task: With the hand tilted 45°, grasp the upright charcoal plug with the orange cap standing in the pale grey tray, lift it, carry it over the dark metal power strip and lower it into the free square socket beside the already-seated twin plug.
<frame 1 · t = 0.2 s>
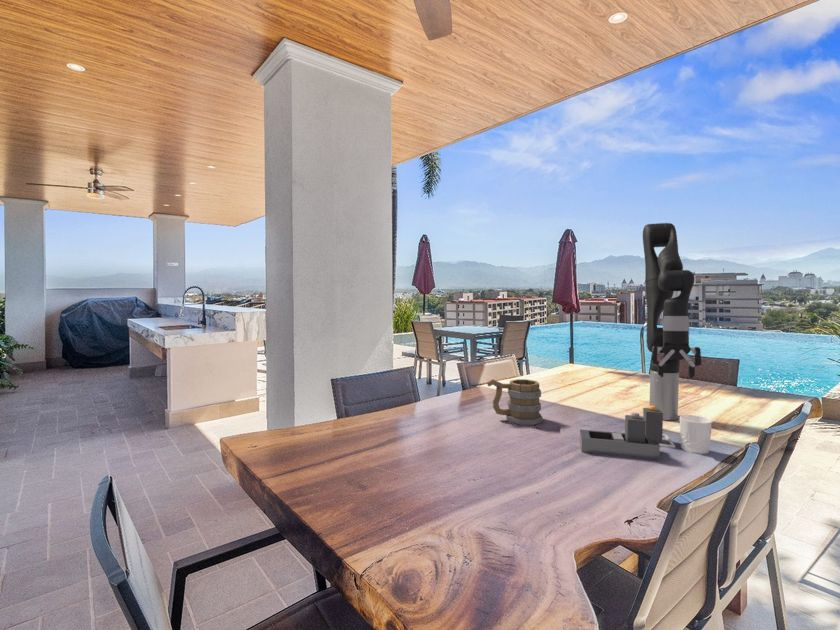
hand: (675, 377, 143), 18 cm above the table, tool pointing down, fingers open, 8 cm apart
plug: (652, 442, 131), resting on tray
tankard: (513, 419, 156), on the table
tray: (652, 443, 131), on the table
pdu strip: (617, 453, 123), on the table
white cup: (694, 453, 123), on the table
twin plug: (634, 452, 121), resting on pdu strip
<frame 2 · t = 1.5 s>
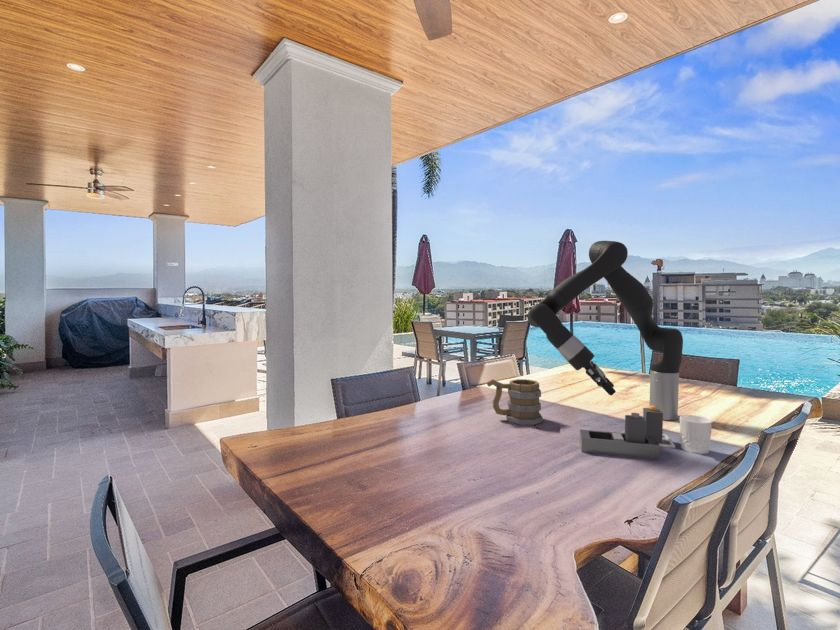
hand: (612, 390, 134), 16 cm above the table, tool tilted 45°, fingers open, 8 cm apart
nothing on the table moved.
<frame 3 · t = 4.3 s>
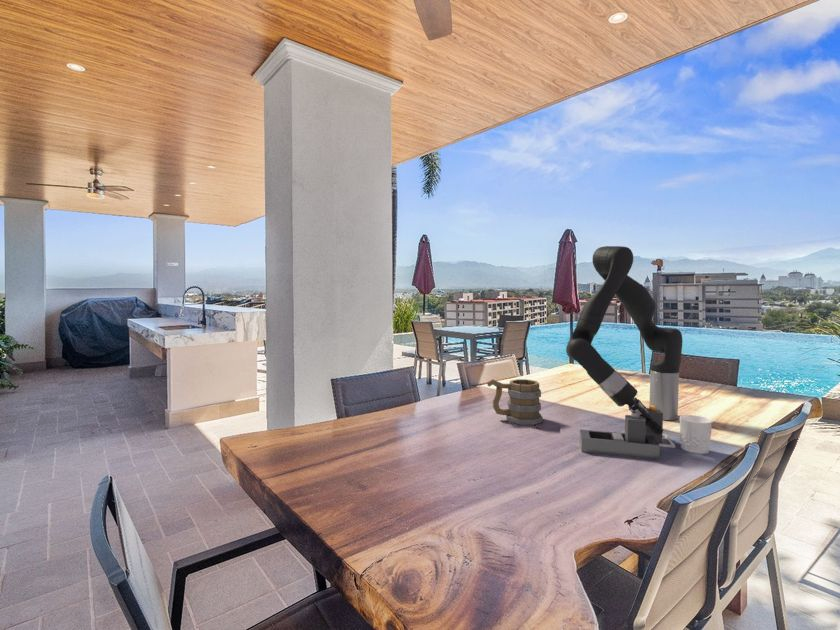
hand: (659, 429, 130), 5 cm above the table, tool tilted 45°, fingers closed on plug, 4 cm apart
plug: (652, 442, 131), resting on tray, touching gripper
everything else where it was.
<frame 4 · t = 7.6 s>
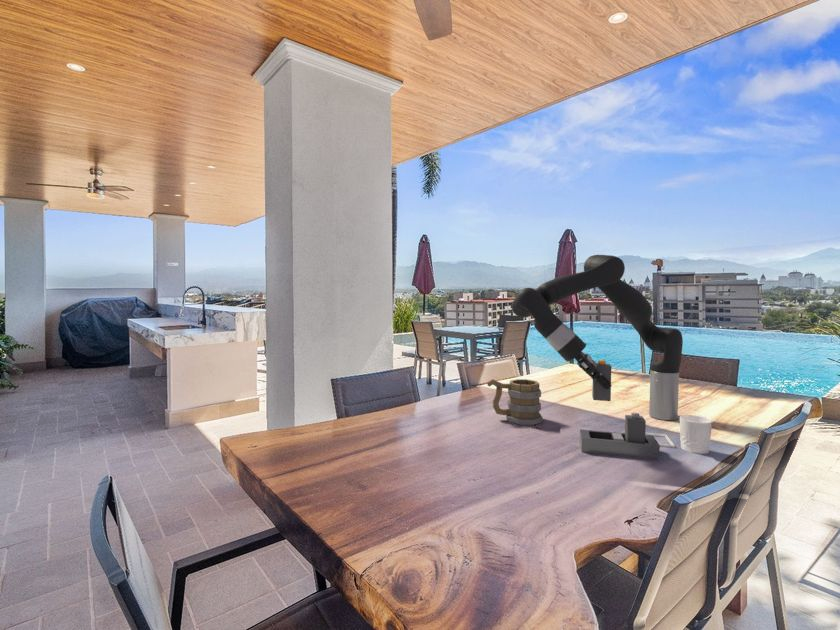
hand: (608, 385, 122), 20 cm above the table, tool tilted 45°, fingers closed on plug, 4 cm apart
plug: (601, 398, 123), point 16 cm above the table, touching gripper
everything else where it was.
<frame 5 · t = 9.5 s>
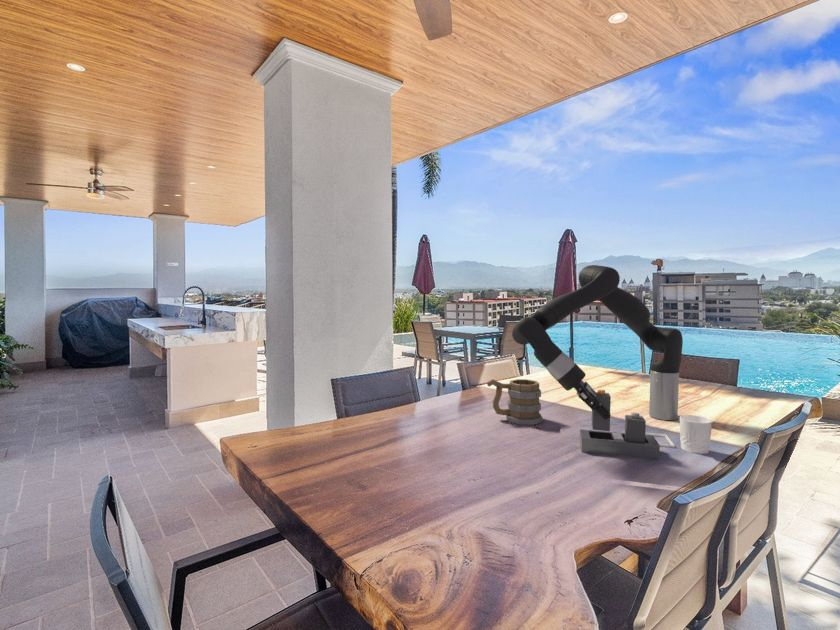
hand: (607, 414, 123), 11 cm above the table, tool tilted 45°, fingers closed on plug, 4 cm apart
plug: (600, 428, 124), point 7 cm above the table, touching gripper
everything else where it was.
when the fingers open (6 cm above the table, at t = 11.1 s): plug drops 1 cm, resting on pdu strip.
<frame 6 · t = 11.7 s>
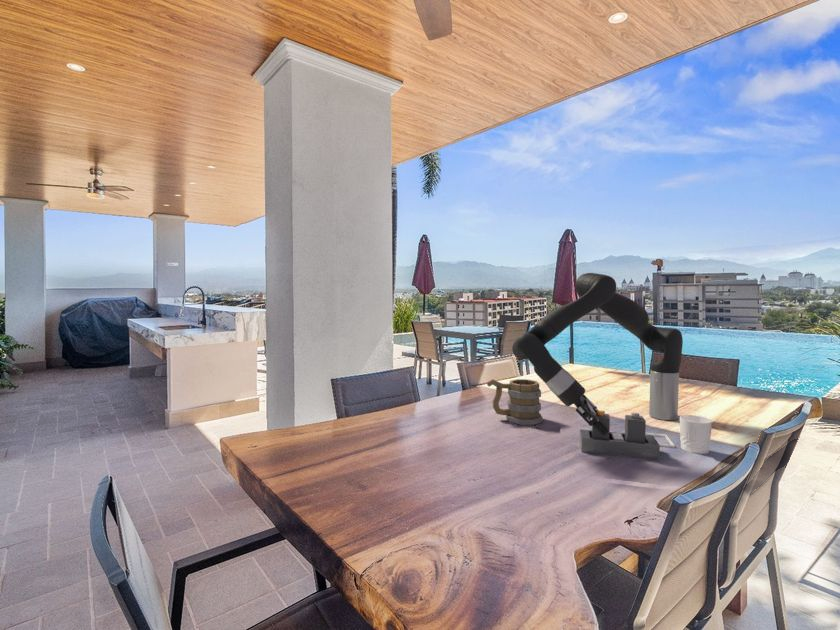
hand: (605, 428, 123), 7 cm above the table, tool tilted 45°, fingers open, 8 cm apart
plug: (600, 448, 124), point 1 cm above the table, touching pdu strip
everything else where it was.
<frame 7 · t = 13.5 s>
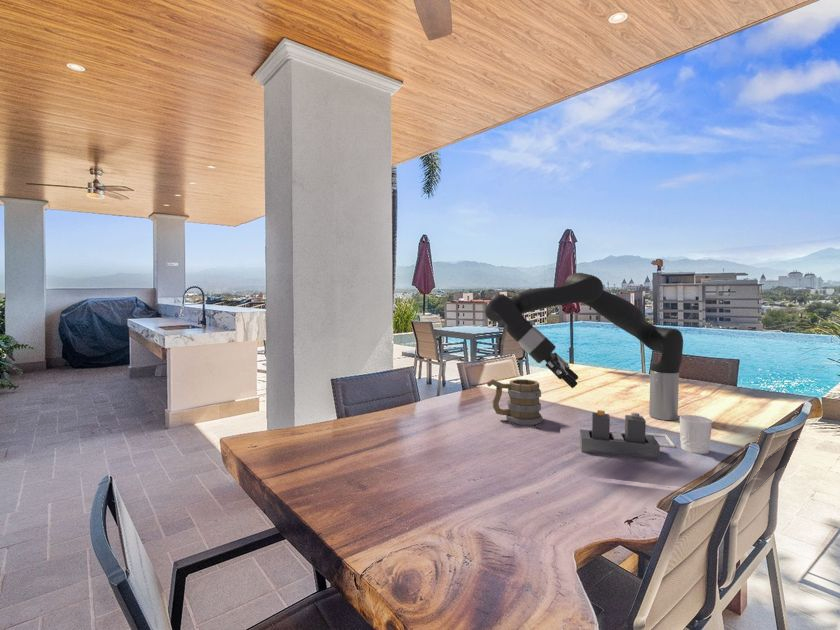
hand: (575, 382, 129), 19 cm above the table, tool tilted 45°, fingers open, 8 cm apart
nothing on the table moved.
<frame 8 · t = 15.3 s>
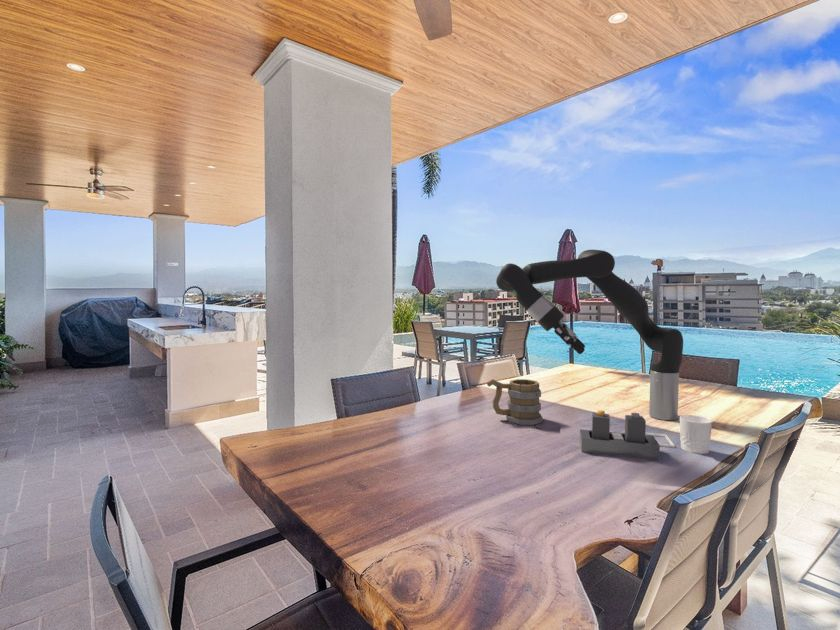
hand: (582, 350, 132), 29 cm above the table, tool tilted 45°, fingers open, 8 cm apart
nothing on the table moved.
at the end: plug 0.1 cm from the target spot on the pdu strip, point 1.0 cm above the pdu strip's base; plug tilted 0°; the gripper is holding nothing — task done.
